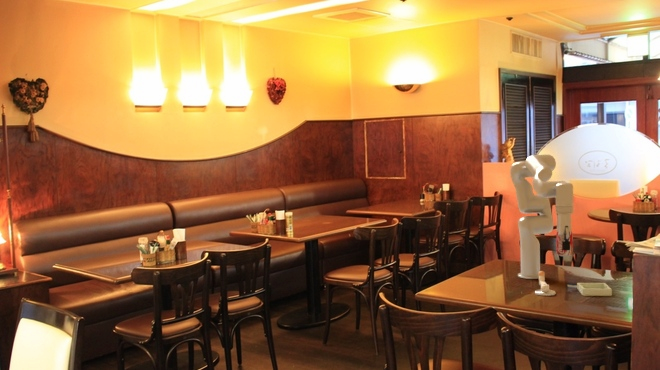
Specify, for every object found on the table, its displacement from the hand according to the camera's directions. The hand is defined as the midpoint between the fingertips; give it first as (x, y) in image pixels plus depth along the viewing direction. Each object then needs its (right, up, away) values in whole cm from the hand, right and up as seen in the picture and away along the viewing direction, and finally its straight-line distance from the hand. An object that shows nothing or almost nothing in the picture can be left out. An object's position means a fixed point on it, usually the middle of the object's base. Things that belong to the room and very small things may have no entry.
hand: (564, 248), depth 291 cm
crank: (-7, -20, +8) cm, 22 cm away
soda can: (0, -4, 0) cm, 4 cm away
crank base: (-8, -21, +3) cm, 23 cm away
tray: (+14, -21, +2) cm, 25 cm away
